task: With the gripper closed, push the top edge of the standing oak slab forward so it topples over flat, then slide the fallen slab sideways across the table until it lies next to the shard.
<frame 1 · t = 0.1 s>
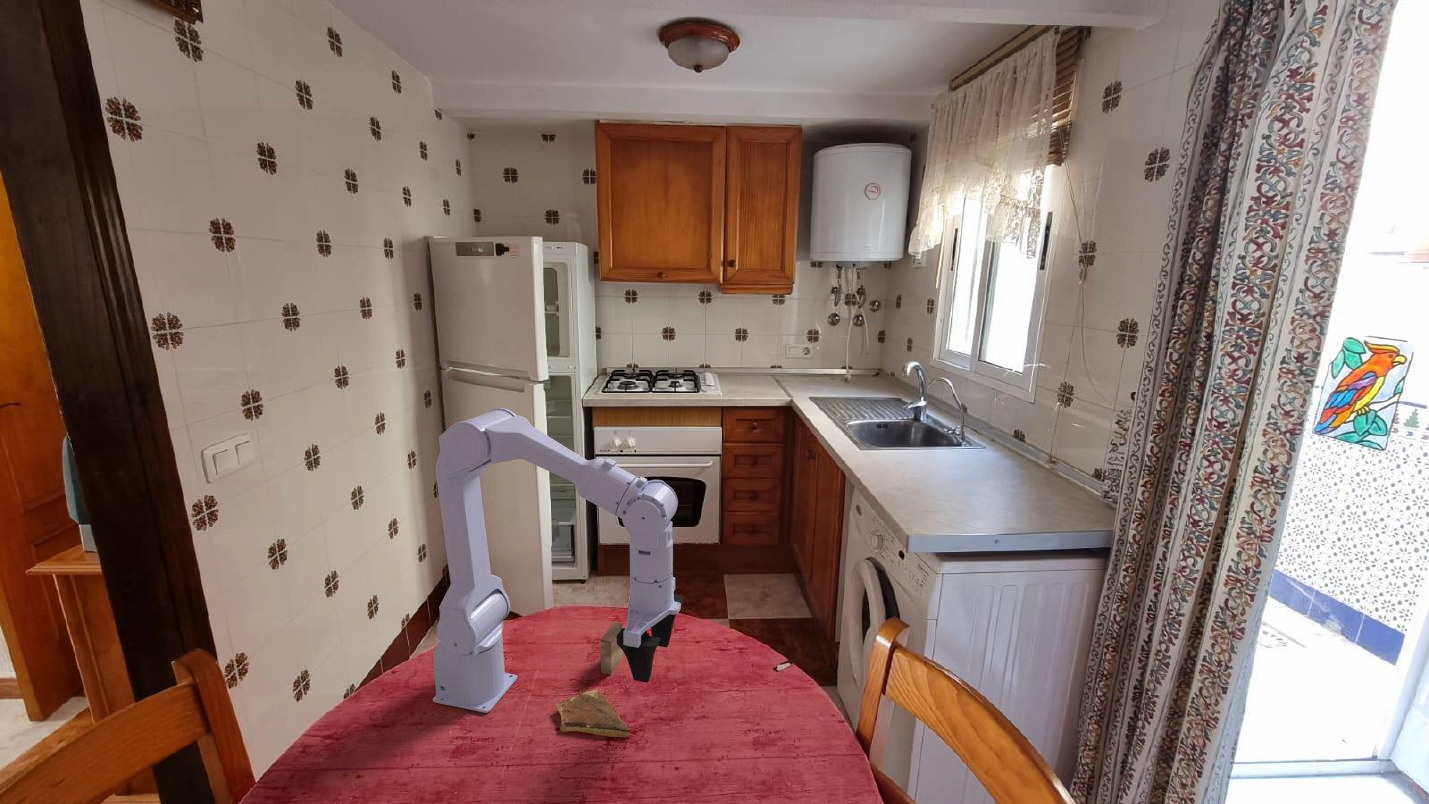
hand: (651, 661, 80), 10 cm above the table, tool pointing down, fingers open, 7 cm apart
oak slab: (612, 664, 94), on the table
shard: (597, 718, 83), on the table
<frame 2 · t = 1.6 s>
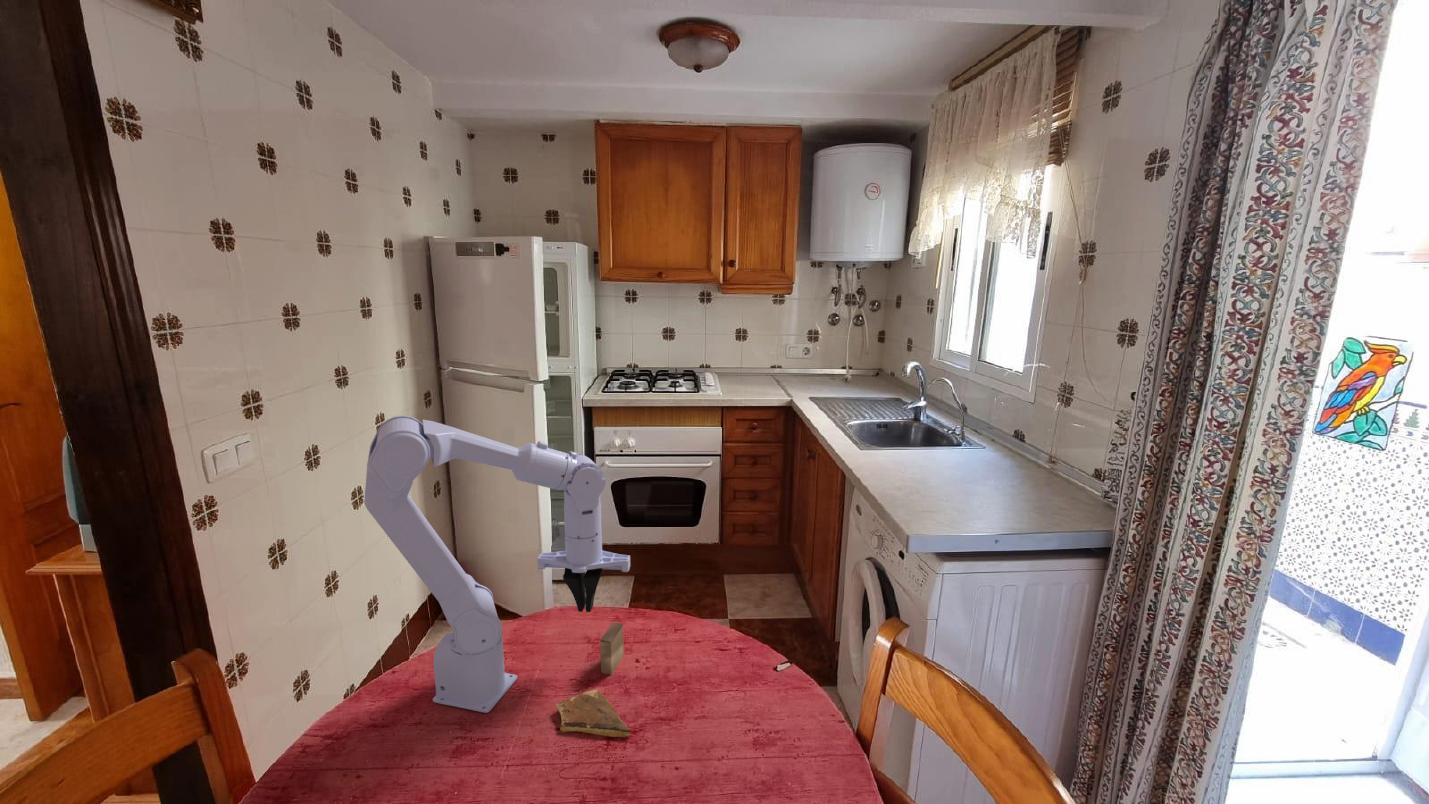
hand: (585, 608, 93), 9 cm above the table, tool pointing down, fingers closed
nothing on the table moved.
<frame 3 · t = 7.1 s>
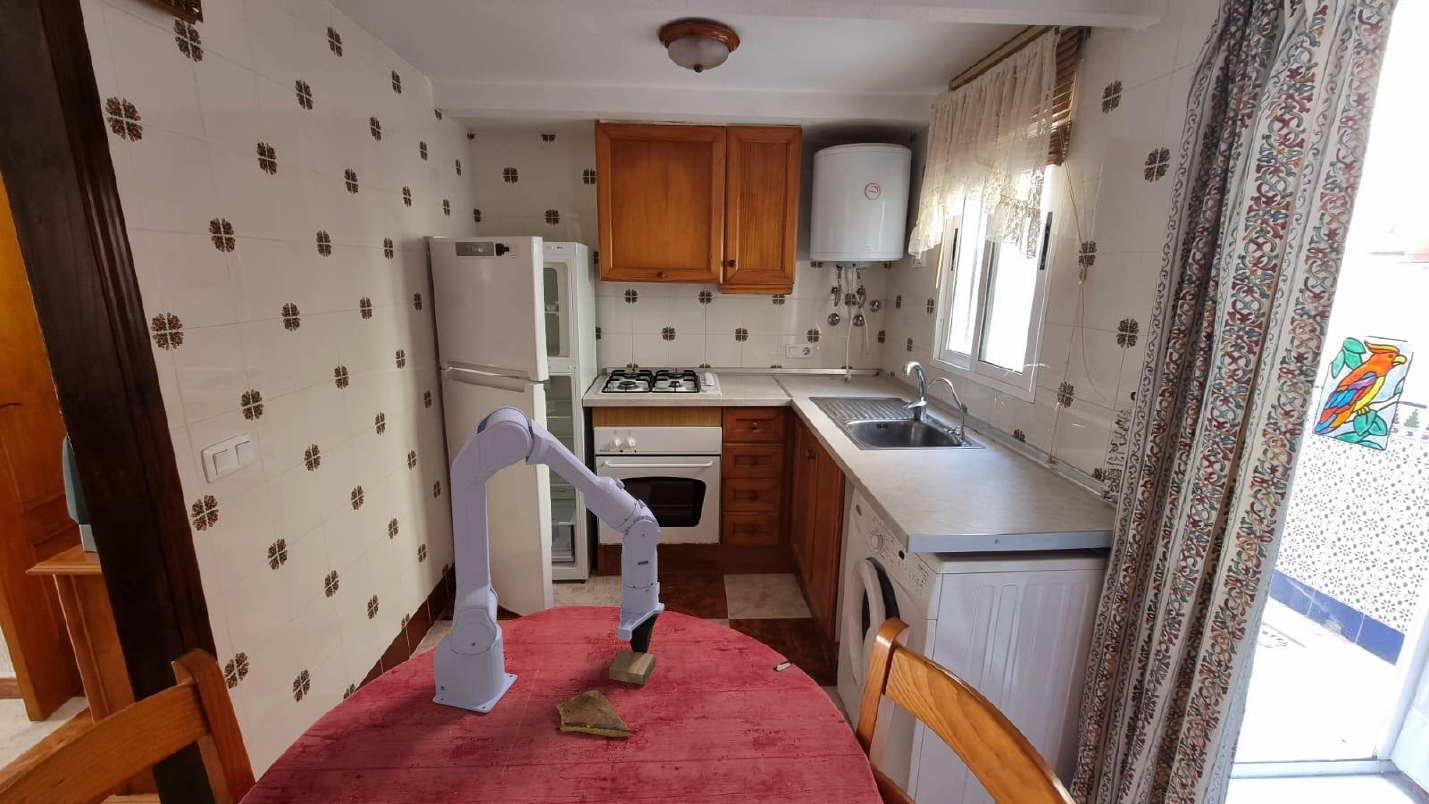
hand: (640, 653, 95), 1 cm above the table, tool pointing down, fingers closed
oak slab: (615, 663, 93), point 1 cm above the table, tilted 90°, touching gripper
everything else where it was.
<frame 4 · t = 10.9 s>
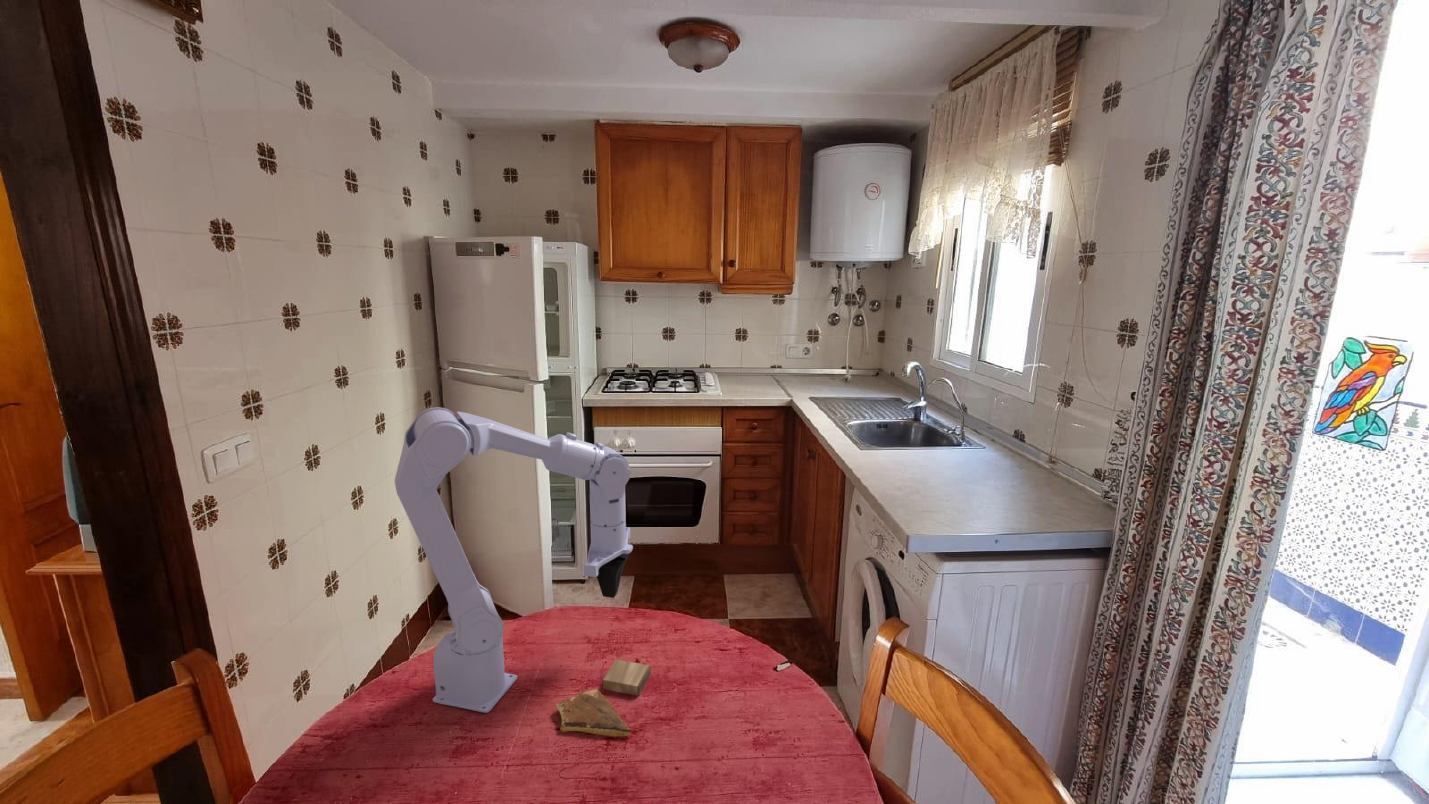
hand: (609, 595, 96), 10 cm above the table, tool pointing down, fingers closed
oak slab: (609, 674, 91), point 1 cm above the table, tilted 90°
everything else where it was.
at the end: oak slab tilted 90°; oak slab inside the target area (3.9 cm from its centre), point 0.7 cm above the table; the gripper is holding nothing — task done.
